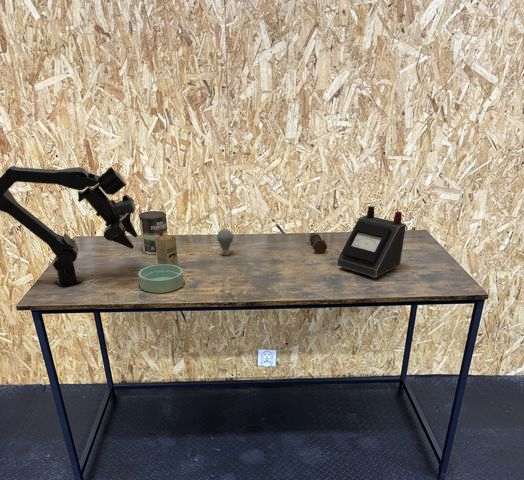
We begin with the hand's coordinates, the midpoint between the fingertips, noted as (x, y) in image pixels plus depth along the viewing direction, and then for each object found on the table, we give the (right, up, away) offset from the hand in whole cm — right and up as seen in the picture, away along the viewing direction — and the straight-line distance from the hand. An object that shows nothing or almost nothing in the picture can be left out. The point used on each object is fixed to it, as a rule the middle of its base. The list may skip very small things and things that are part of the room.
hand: (134, 242), depth 166 cm
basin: (+9, -14, 0) cm, 17 cm away
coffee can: (+1, +3, +30) cm, 30 cm away
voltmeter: (+81, -7, +13) cm, 82 cm away
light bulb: (+29, 0, +25) cm, 38 cm away
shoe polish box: (+9, -8, +11) cm, 17 cm away
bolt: (+65, +5, +33) cm, 73 cm away
